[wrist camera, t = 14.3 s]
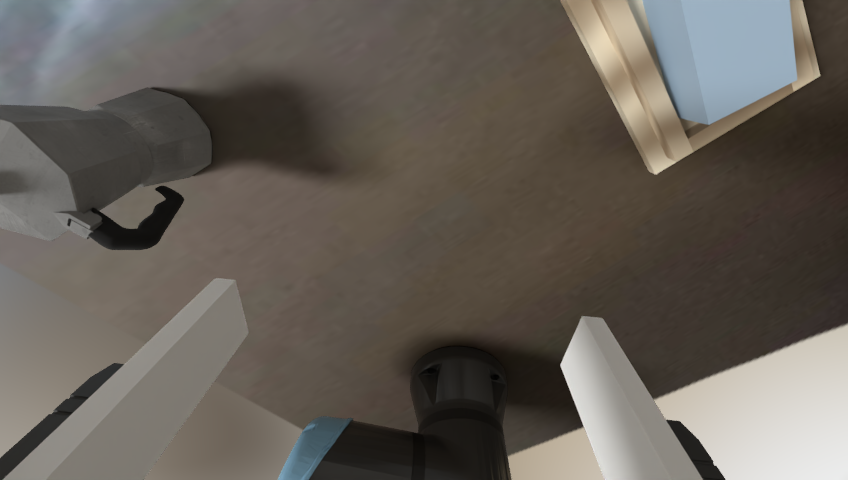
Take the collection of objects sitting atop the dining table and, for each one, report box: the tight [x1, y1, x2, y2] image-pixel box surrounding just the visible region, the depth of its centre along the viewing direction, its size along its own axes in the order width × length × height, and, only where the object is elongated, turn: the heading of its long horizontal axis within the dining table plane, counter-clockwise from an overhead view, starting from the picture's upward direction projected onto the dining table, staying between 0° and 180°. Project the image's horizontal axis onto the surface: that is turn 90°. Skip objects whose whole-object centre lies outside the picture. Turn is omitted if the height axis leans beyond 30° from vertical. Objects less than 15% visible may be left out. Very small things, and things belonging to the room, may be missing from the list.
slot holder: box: [560, 0, 820, 175], centre depth 26 cm, size 20×14×3 cm
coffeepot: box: [0, 88, 212, 250], centre depth 27 cm, size 15×9×18 cm, turn 50°
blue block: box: [642, 0, 797, 125], centre depth 24 cm, size 12×6×4 cm, turn 33°
